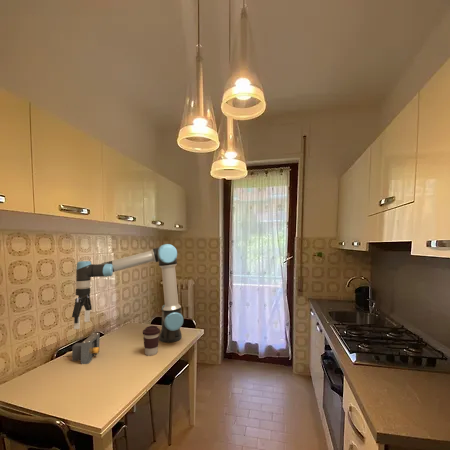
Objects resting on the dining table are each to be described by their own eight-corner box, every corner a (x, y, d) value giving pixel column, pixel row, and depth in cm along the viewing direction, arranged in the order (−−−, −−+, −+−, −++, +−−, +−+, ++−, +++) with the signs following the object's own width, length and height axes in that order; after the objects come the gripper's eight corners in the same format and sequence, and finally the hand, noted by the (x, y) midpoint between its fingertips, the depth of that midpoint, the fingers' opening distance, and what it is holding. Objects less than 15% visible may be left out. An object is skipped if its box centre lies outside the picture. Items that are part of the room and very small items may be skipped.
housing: (99, 351, 157) (99, 332, 158) (88, 363, 141) (88, 342, 142) (92, 352, 157) (92, 332, 157) (80, 364, 141) (81, 342, 142)
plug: (99, 355, 152) (99, 341, 152) (96, 359, 147) (97, 344, 148) (75, 357, 150) (76, 343, 150) (71, 361, 145) (72, 346, 145)
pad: (83, 351, 158) (83, 350, 158) (79, 355, 152) (79, 355, 152) (68, 352, 157) (68, 351, 157) (63, 356, 151) (63, 356, 151)
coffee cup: (163, 351, 157) (163, 325, 158) (153, 357, 147) (153, 330, 149) (149, 349, 160) (149, 324, 161) (139, 355, 151) (139, 329, 152)
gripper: (85, 284, 163) (84, 319, 162) (65, 291, 139) (64, 332, 137) (97, 284, 164) (97, 318, 163) (80, 291, 139) (79, 331, 138)
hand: (82, 325), depth 150 cm, fingers open, 13 cm apart
